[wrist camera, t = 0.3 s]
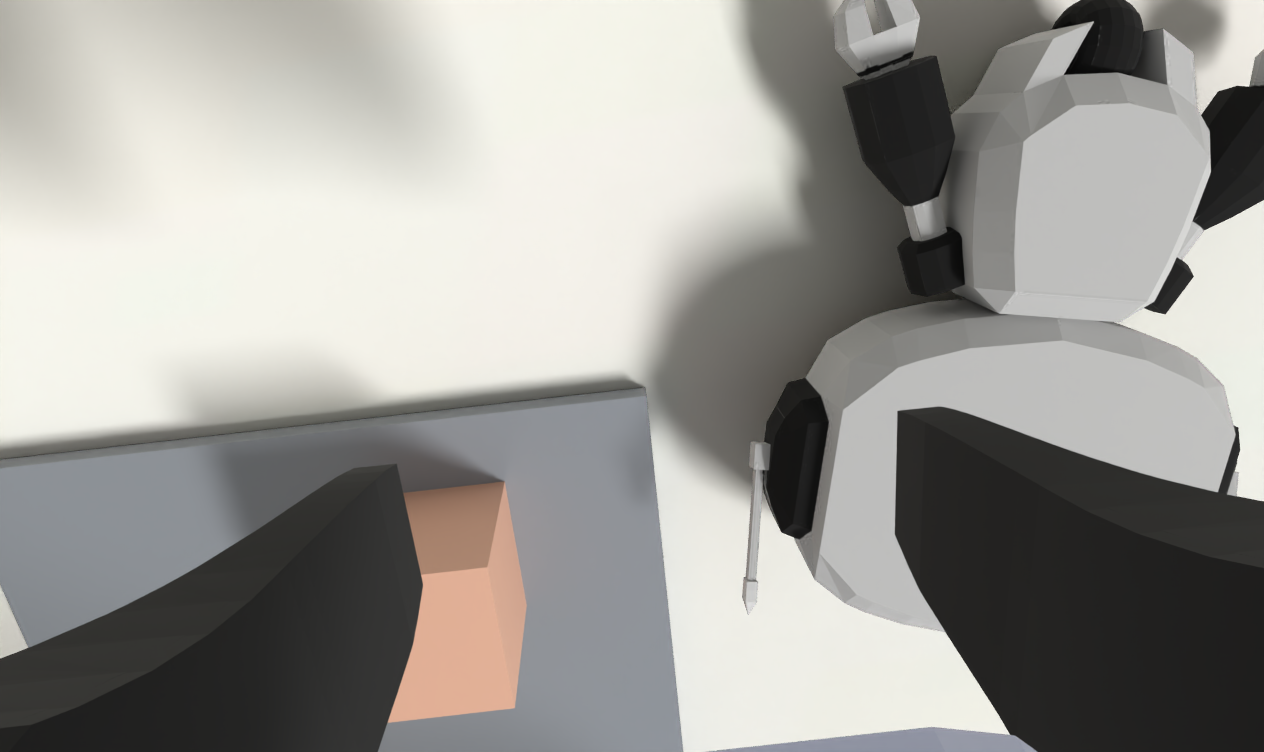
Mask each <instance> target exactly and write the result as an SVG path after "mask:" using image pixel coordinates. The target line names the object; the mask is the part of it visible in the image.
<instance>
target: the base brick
mask: <svg viewBox="0 0 1264 752" xmlns="http://www.w3.org/2000/svg"><path fill="white" fill-rule="evenodd" d="M403 494H404V499H405V503H406V508H407V513H408V517H409V522H410V526H411V531H412V535H413V540H414V545H415V549H416V554H417V558H418V563H419V568H420V572H421V577H422V581H423V590H422V596H421V602H420V609H419V615H418V621H417V626H416V631H415V637H414V642H413V646H412V650H411V653H410V656H409V659H408V662H407V665H406V668H405V672H404V675H403V678H402V681H401V684H400V687H399V690H398V693H397V696H396V699H395V702H394V705H393V708H392V711H391V714H390V717H389V720H388V723H391V722H399V721H408V720H417V719H425V718H434V717H443V716H451V715H460V714H469V713H478V712H486V711H495V710H504V709H512V708H515V702H516V694H517V685H518V676H519V668H520V659H521V650H522V642H523V633H524V625H525V616H526V607H527V604H526V599H525V593H524V587H523V582H522V576H521V570H520V565H519V559H518V553H517V548H516V542H515V536H514V531H513V525H512V520H511V514H510V508H509V503H508V497H507V491H506V486H505V481H504V482H495V483H486V484H478V485H469V486H460V487H451V488H442V489H433V490H424V491H416V492H407V493H403Z"/></svg>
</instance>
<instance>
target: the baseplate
mask: <svg viewBox="0 0 1264 752" xmlns="http://www.w3.org/2000/svg"><path fill="white" fill-rule="evenodd" d="M388 464H397V467H398V471H399V476H400V481H401V485H402V490H403V493H407V492H416V491H424V490H433V489H442V488H451V487H460V486H469V485H478V484H486V483H495V482H504V481H505V486H506V491H507V497H508V503H509V508H510V514H511V520H512V525H513V531H514V536H515V542H516V548H517V553H518V559H519V565H520V570H521V576H522V582H523V587H524V593H525V599H526V604H527V607H526V616H525V625H524V633H523V642H522V650H521V659H520V668H519V676H518V685H517V694H516V702H515V708H512V709H504V710H495V711H486V712H478V713H469V714H460V715H451V716H443V717H434V718H425V719H417V720H408V721H399V722H391V723H387V726H386V729H385V732H384V735H383V738H382V741H381V744H380V747H379V750H378V752H683V746H682V736H681V726H680V717H679V707H678V697H677V688H676V678H675V668H674V658H673V649H672V639H671V629H670V620H669V610H668V600H667V590H666V581H665V571H664V561H663V552H662V542H661V532H660V523H659V513H658V503H657V493H656V484H655V474H654V464H653V455H652V445H651V435H650V426H649V416H648V406H647V396H646V390H645V387H644V388H635V389H626V390H617V391H608V392H599V393H590V394H581V395H572V396H564V397H555V398H546V399H537V400H528V401H519V402H510V403H501V404H492V405H483V406H474V407H465V408H456V409H448V410H439V411H430V412H421V413H412V414H403V415H394V416H385V417H376V418H367V419H358V420H349V421H340V422H332V423H323V424H314V425H305V426H296V427H287V428H278V429H269V430H260V431H251V432H242V433H233V434H224V435H216V436H207V437H198V438H189V439H180V440H171V441H162V442H153V443H144V444H135V445H126V446H117V447H108V448H100V449H91V450H82V451H73V452H64V453H55V454H46V455H37V456H28V457H19V458H10V459H1V460H0V585H1V587H2V589H3V592H4V594H5V596H6V598H7V600H8V603H9V605H10V607H11V609H12V612H13V614H14V616H15V618H16V621H17V623H18V625H19V627H20V629H21V632H22V634H23V636H24V638H25V641H26V643H27V645H28V647H29V648H30V647H32V646H34V645H37V644H39V643H41V642H44V641H46V640H48V639H50V638H53V637H55V636H57V635H60V634H62V633H64V632H67V631H69V630H71V629H74V628H76V627H78V626H81V625H83V624H85V623H87V622H90V621H92V620H94V619H97V618H99V617H101V616H104V615H106V614H108V613H110V612H112V611H114V610H117V609H119V608H121V607H123V606H125V605H127V604H129V603H131V602H133V601H135V600H137V599H139V598H141V597H143V596H145V595H146V594H148V593H150V592H152V591H154V590H156V589H158V588H160V587H162V586H164V585H166V584H168V583H169V582H171V581H173V580H175V579H177V578H179V577H180V576H182V575H184V574H186V573H188V572H189V571H191V570H193V569H195V568H196V567H198V566H200V565H201V564H203V563H204V562H206V561H208V560H209V559H211V558H213V557H214V556H216V555H217V554H219V553H221V552H222V551H224V550H225V549H227V548H229V547H230V546H232V545H233V544H235V543H237V542H238V541H240V540H241V539H243V538H245V537H246V536H248V535H250V534H251V533H253V532H254V531H256V530H257V529H259V528H261V527H262V526H263V525H265V524H266V523H268V522H269V521H271V520H272V519H274V518H275V517H277V516H278V515H280V514H281V513H283V512H284V511H286V510H287V509H289V508H290V507H292V506H293V505H295V504H296V503H298V502H299V501H301V500H302V499H304V498H305V497H307V496H308V495H310V494H311V493H312V492H314V491H316V490H317V489H319V488H320V487H322V486H323V485H325V484H326V483H328V482H329V481H331V480H333V479H334V478H336V477H338V476H339V475H341V474H343V473H345V472H347V471H349V470H351V469H353V468H359V467H369V466H378V465H388Z"/></svg>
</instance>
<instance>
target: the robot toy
mask: <svg viewBox="0 0 1264 752" xmlns="http://www.w3.org/2000/svg"><path fill="white" fill-rule="evenodd" d="M874 2H875V6H876V10H877V15H878V19H879V23H880V28H881V32H879V33H876V34H874V35H873V32H872V28H871V25H870V21H869V17H868V14H867V10H866V6H865V0H844V1H843V2H842V4H841V6H840V7H839V9H838V10H837V12H836V13H835V15H834V17H833V18H834V38H835V50H836V51H837V53H838V54H839V55H840V56H841V57H842V58H843V59H844V60H845V61H846V63H847V64H848V65H849V66H850V67H851V68H852V69H853V70H854V72H855V73H856V74H857V75H858V76H860V77H861V78H863V79H860V80H858V81H856V82H853V83H851V84H848V85H846V86H843V90H844V94H845V98H846V101H847V105H848V109H849V112H850V116H851V120H852V123H853V127H854V131H855V134H856V138H857V142H858V145H859V149H860V153H861V156H862V160H863V162H864V163H865V164H866V165H867V167H868V168H869V169H870V170H871V171H872V172H873V173H874V175H875V176H876V177H877V178H878V179H879V180H880V181H881V183H882V184H883V185H884V186H885V187H886V188H887V189H888V191H889V192H890V193H891V194H893V195H894V196H895V197H896V198H897V199H898V200H899V201H900V202H901V203H902V204H903V208H904V212H905V215H906V219H907V223H908V227H909V231H910V235H911V236H910V237H908V238H906V239H904V240H903V241H902V242H901V244H900V245H899V246H898V247H897V249H898V253H899V257H900V260H901V264H902V268H903V271H904V275H905V279H906V283H907V286H908V288H909V290H910V292H911V294H916V295H921V296H931V295H935V294H939V293H943V292H947V291H949V290H952V291H953V292H954V293H955V294H957V295H959V296H961V297H964V298H966V299H959V300H947V301H935V302H927V303H923V304H918V305H913V306H908V307H903V308H898V309H894V310H889V311H885V312H882V313H879V314H876V315H873V316H870V317H867V318H865V319H863V320H861V321H860V322H858V323H856V324H854V325H853V326H851V327H849V328H847V329H846V330H844V331H842V332H841V333H839V334H837V335H835V336H834V337H832V338H830V339H828V340H827V342H826V344H825V345H824V347H823V349H822V350H821V352H820V354H819V356H818V357H817V359H816V361H815V362H814V364H813V366H812V367H811V369H810V371H809V373H808V374H807V376H806V378H804V379H800V380H797V381H793V382H789V383H788V384H787V385H786V387H785V389H784V391H783V393H782V395H781V397H780V399H779V401H778V403H777V405H776V407H775V409H774V410H773V412H772V414H771V416H770V418H769V420H768V421H767V425H766V432H765V440H764V442H754V441H751V444H750V458H749V467H751V468H752V469H753V482H752V496H751V510H750V524H749V538H748V553H747V567H746V577H744V580H743V594H742V598H743V601H744V604H745V607H746V610H747V613H748V615H749V613H750V612H751V610H752V609H753V607H754V606H755V604H756V603H757V590H758V582H757V580H756V574H757V560H758V546H759V532H760V518H761V504H762V490H764V494H765V496H766V499H767V502H768V505H769V507H770V510H771V512H772V514H773V516H774V518H775V520H776V522H777V524H778V526H779V528H780V530H781V532H782V533H784V534H787V535H789V536H792V537H794V539H795V542H796V544H797V546H798V548H799V550H800V552H801V554H802V556H803V558H804V560H805V562H806V564H807V566H808V568H809V569H810V571H811V573H812V575H813V577H814V579H815V580H816V581H817V582H818V583H820V584H821V585H822V586H823V587H825V588H826V589H827V590H829V591H830V592H831V593H832V594H834V595H835V596H836V597H838V598H839V599H840V600H841V601H843V602H844V603H846V604H848V605H850V606H852V607H854V608H857V609H859V610H861V611H863V612H866V613H869V614H872V615H875V616H878V617H882V618H885V619H888V620H891V621H894V622H897V623H900V624H905V625H910V626H915V627H921V628H926V629H931V630H937V631H942V632H945V631H944V629H943V627H942V626H941V624H940V623H939V621H938V619H937V618H936V616H935V615H934V613H933V611H932V610H931V608H930V607H929V605H928V603H927V602H926V600H925V599H924V597H923V595H922V594H921V592H920V590H919V588H918V586H917V584H916V582H915V580H914V578H913V575H912V573H911V571H910V569H909V567H908V565H907V562H906V560H905V557H904V555H903V553H902V550H901V548H900V546H899V543H898V541H897V539H896V536H895V498H896V454H897V411H900V410H909V409H919V408H928V407H938V406H941V407H946V408H951V409H955V410H958V411H962V412H965V413H968V414H971V415H974V416H977V417H980V418H983V419H986V420H988V421H991V422H994V423H996V424H999V425H1002V426H1005V427H1007V428H1010V429H1013V430H1015V431H1018V432H1021V433H1023V434H1026V435H1029V436H1032V437H1034V438H1037V439H1040V440H1042V441H1045V442H1048V443H1051V444H1053V445H1056V446H1059V447H1062V448H1065V449H1068V450H1070V451H1073V452H1076V453H1079V454H1082V455H1085V456H1088V457H1091V458H1094V459H1097V460H1101V461H1104V462H1107V463H1110V464H1113V465H1116V466H1120V467H1123V468H1126V469H1129V470H1132V471H1136V472H1139V473H1143V474H1146V475H1150V476H1153V477H1157V478H1161V479H1164V480H1168V481H1173V482H1177V483H1181V484H1185V485H1189V486H1193V487H1197V488H1202V489H1206V490H1210V491H1214V492H1218V493H1223V494H1227V495H1232V496H1237V485H1238V473H1239V472H1234V471H1235V468H1236V465H1237V458H1238V455H1239V452H1240V443H1239V431H1238V427H1236V426H1233V421H1232V417H1231V413H1230V409H1229V405H1228V401H1227V397H1226V393H1225V388H1224V385H1223V384H1222V383H1221V382H1220V381H1219V380H1218V379H1217V378H1216V377H1215V376H1214V375H1213V374H1212V373H1211V372H1210V371H1209V370H1208V369H1207V368H1206V367H1205V366H1204V365H1203V364H1202V363H1201V362H1200V361H1199V360H1198V359H1197V358H1196V357H1194V356H1192V355H1191V354H1189V353H1187V352H1185V351H1184V350H1182V349H1180V348H1179V347H1177V346H1174V345H1171V344H1169V343H1166V342H1164V341H1161V340H1159V339H1156V338H1154V337H1151V336H1149V335H1146V334H1144V333H1141V332H1139V331H1136V330H1133V329H1131V328H1128V327H1125V326H1123V325H1120V324H1117V323H1115V322H1121V321H1123V320H1124V319H1126V318H1128V317H1129V316H1131V315H1133V314H1134V313H1136V312H1138V311H1139V310H1141V309H1143V308H1145V309H1148V310H1150V311H1153V312H1157V313H1162V314H1166V313H1167V311H1168V310H1169V309H1170V307H1171V306H1172V305H1173V303H1174V302H1175V301H1176V299H1177V298H1178V297H1179V295H1180V294H1181V293H1182V291H1183V290H1184V289H1185V287H1186V286H1187V285H1188V283H1189V282H1190V281H1191V279H1192V278H1193V277H1194V276H1193V274H1192V272H1191V270H1190V268H1189V266H1188V265H1187V264H1186V263H1185V262H1183V261H1182V259H1183V258H1184V257H1185V255H1186V254H1187V253H1188V251H1189V250H1190V249H1191V247H1192V246H1193V245H1194V243H1195V242H1196V241H1197V239H1198V238H1199V237H1200V235H1201V234H1202V233H1203V231H1204V230H1206V229H1208V228H1210V227H1212V226H1214V225H1217V224H1219V223H1221V222H1223V221H1225V220H1227V219H1229V218H1231V217H1233V216H1235V215H1237V214H1239V213H1241V212H1242V211H1244V210H1246V209H1248V208H1250V207H1252V206H1253V205H1255V204H1257V203H1259V202H1261V201H1263V200H1264V50H1262V51H1261V52H1260V53H1259V54H1258V55H1257V56H1256V57H1255V61H1254V66H1253V71H1252V76H1251V81H1250V86H1249V87H1245V86H1235V87H1232V88H1229V89H1225V90H1222V91H1219V92H1217V94H1216V95H1215V97H1214V98H1213V99H1212V101H1211V102H1210V104H1209V105H1208V106H1207V108H1206V109H1205V111H1204V112H1203V113H1202V115H1201V114H1200V112H1199V110H1198V109H1197V97H1196V82H1195V67H1194V53H1193V52H1192V51H1191V50H1190V49H1188V48H1187V47H1186V46H1185V45H1183V44H1182V43H1181V42H1180V41H1178V40H1177V39H1176V38H1175V37H1173V36H1172V35H1171V34H1170V33H1168V32H1167V31H1166V30H1165V29H1163V28H1162V29H1156V30H1150V31H1143V25H1142V20H1141V17H1140V15H1139V13H1138V12H1137V11H1136V9H1135V8H1134V7H1133V6H1132V5H1131V4H1130V3H1128V2H1127V1H1126V0H1080V1H1078V2H1077V3H1075V4H1073V5H1072V6H1070V7H1069V8H1068V9H1066V10H1065V11H1064V12H1063V14H1062V15H1061V16H1060V17H1059V18H1058V20H1057V21H1056V22H1055V24H1054V26H1053V28H1052V30H1049V31H1044V32H1039V33H1035V34H1032V35H1030V36H1027V37H1025V38H1023V39H1020V40H1018V41H1016V42H1013V43H1011V44H1008V45H1006V46H1004V47H1001V48H999V49H998V51H997V53H996V54H995V56H994V58H993V60H992V62H991V64H990V65H989V67H988V69H987V71H986V73H985V75H984V76H983V78H982V80H981V82H980V84H979V85H978V87H977V89H976V91H975V93H974V95H973V96H972V97H971V98H970V99H968V100H967V101H966V102H965V103H964V104H963V105H962V106H960V107H959V108H958V109H957V110H956V111H955V112H954V113H952V115H951V116H950V111H949V107H948V103H947V99H946V95H945V90H944V86H943V82H942V78H941V74H940V69H939V65H938V61H937V57H936V56H928V57H924V58H920V59H917V60H913V61H910V60H911V58H912V56H913V53H914V48H915V42H916V37H917V32H918V27H919V21H920V16H919V14H918V12H917V10H916V8H915V5H914V3H913V1H912V0H874Z"/></svg>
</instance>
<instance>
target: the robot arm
mask: <svg viewBox="0 0 1264 752" xmlns="http://www.w3.org/2000/svg"><path fill="white" fill-rule="evenodd" d="M895 536H896V539H897V541H898V543H899V546H900V548H901V550H902V553H903V555H904V557H905V560H906V562H907V565H908V567H909V569H910V571H911V573H912V575H913V578H914V580H915V582H916V584H917V586H918V588H919V590H920V592H921V594H922V595H923V597H924V599H925V600H926V602H927V603H928V605H929V607H930V608H931V610H932V611H933V613H934V615H935V616H936V618H937V619H938V621H939V623H940V624H941V626H942V627H943V629H944V631H945V632H946V634H947V635H948V637H949V638H950V640H951V641H952V643H953V645H954V646H955V648H956V649H957V651H958V652H959V654H960V655H961V657H962V659H963V660H964V662H965V663H966V665H967V666H968V668H969V669H970V671H971V672H972V674H973V676H974V677H975V679H976V680H977V682H978V683H979V685H980V686H981V688H982V690H983V691H984V693H985V694H986V696H987V697H988V699H989V700H990V702H991V704H992V705H993V707H994V708H995V710H996V711H997V713H998V714H999V716H1000V718H1001V720H1002V721H1003V723H1004V725H1005V727H1006V728H1007V730H1008V732H1009V733H1010V735H1005V734H995V733H985V732H975V731H965V730H956V729H946V728H936V727H928V728H918V729H909V730H899V731H890V732H881V733H872V734H863V735H854V736H845V737H836V738H826V739H817V740H808V741H799V742H790V743H781V744H772V745H762V746H753V747H744V748H735V749H726V750H717V751H708V752H1264V502H1263V501H1257V500H1252V499H1247V498H1242V497H1237V496H1232V495H1227V494H1223V493H1218V492H1214V491H1210V490H1206V489H1202V488H1197V487H1193V486H1189V485H1185V484H1181V483H1177V482H1173V481H1168V480H1164V479H1161V478H1157V477H1153V476H1150V475H1146V474H1143V473H1139V472H1136V471H1132V470H1129V469H1126V468H1123V467H1120V466H1116V465H1113V464H1110V463H1107V462H1104V461H1101V460H1097V459H1094V458H1091V457H1088V456H1085V455H1082V454H1079V453H1076V452H1073V451H1070V450H1068V449H1065V448H1062V447H1059V446H1056V445H1053V444H1051V443H1048V442H1045V441H1042V440H1040V439H1037V438H1034V437H1032V436H1029V435H1026V434H1023V433H1021V432H1018V431H1015V430H1013V429H1010V428H1007V427H1005V426H1002V425H999V424H996V423H994V422H991V421H988V420H986V419H983V418H980V417H977V416H974V415H971V414H968V413H965V412H962V411H958V410H955V409H951V408H946V407H941V406H938V407H928V408H919V409H909V410H900V411H897V454H896V498H895ZM422 590H423V581H422V577H421V572H420V568H419V563H418V558H417V554H416V549H415V545H414V540H413V535H412V531H411V526H410V522H409V517H408V513H407V508H406V503H405V499H404V494H403V490H402V485H401V481H400V476H399V471H398V467H397V464H388V465H378V466H369V467H359V468H353V469H351V470H349V471H347V472H345V473H343V474H341V475H339V476H338V477H336V478H334V479H333V480H331V481H329V482H328V483H326V484H325V485H323V486H322V487H320V488H319V489H317V490H316V491H314V492H312V493H311V494H310V495H308V496H307V497H305V498H304V499H302V500H301V501H299V502H298V503H296V504H295V505H293V506H292V507H290V508H289V509H287V510H286V511H284V512H283V513H281V514H280V515H278V516H277V517H275V518H274V519H272V520H271V521H269V522H268V523H266V524H265V525H263V526H262V527H261V528H259V529H257V530H256V531H254V532H253V533H251V534H250V535H248V536H246V537H245V538H243V539H241V540H240V541H238V542H237V543H235V544H233V545H232V546H230V547H229V548H227V549H225V550H224V551H222V552H221V553H219V554H217V555H216V556H214V557H213V558H211V559H209V560H208V561H206V562H204V563H203V564H201V565H200V566H198V567H196V568H195V569H193V570H191V571H189V572H188V573H186V574H184V575H182V576H180V577H179V578H177V579H175V580H173V581H171V582H169V583H168V584H166V585H164V586H162V587H160V588H158V589H156V590H154V591H152V592H150V593H148V594H146V595H145V596H143V597H141V598H139V599H137V600H135V601H133V602H131V603H129V604H127V605H125V606H123V607H121V608H119V609H117V610H114V611H112V612H110V613H108V614H106V615H104V616H101V617H99V618H97V619H94V620H92V621H90V622H87V623H85V624H83V625H81V626H78V627H76V628H74V629H71V630H69V631H67V632H64V633H62V634H60V635H57V636H55V637H53V638H50V639H48V640H46V641H44V642H41V643H39V644H37V645H34V646H32V647H30V648H27V649H25V650H22V651H19V652H17V653H14V654H12V655H9V656H6V657H4V658H1V659H0V752H378V750H379V747H380V744H381V741H382V738H383V735H384V732H385V729H386V726H387V723H388V720H389V717H390V714H391V711H392V708H393V705H394V702H395V699H396V696H397V693H398V690H399V687H400V684H401V681H402V678H403V675H404V672H405V668H406V665H407V662H408V659H409V656H410V653H411V650H412V646H413V642H414V637H415V631H416V626H417V621H418V615H419V609H420V602H421V596H422Z"/></svg>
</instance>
